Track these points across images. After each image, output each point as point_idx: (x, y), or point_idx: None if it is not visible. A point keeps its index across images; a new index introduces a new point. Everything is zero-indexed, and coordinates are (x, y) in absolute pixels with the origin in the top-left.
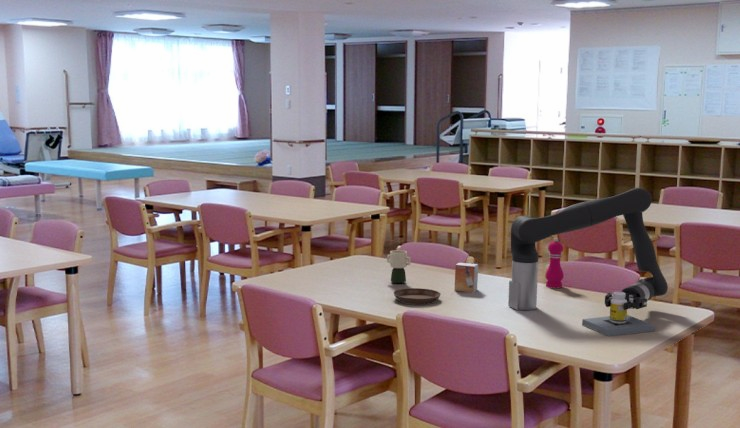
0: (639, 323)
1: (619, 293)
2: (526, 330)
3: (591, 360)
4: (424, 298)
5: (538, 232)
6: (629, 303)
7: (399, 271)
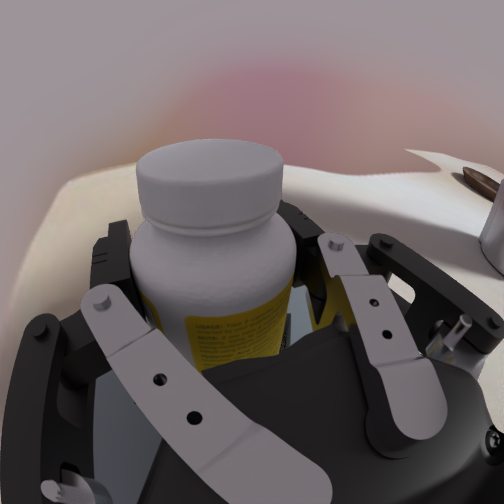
0: (113, 438)
1: (191, 150)
2: (316, 179)
3: (107, 171)
4: (466, 172)
5: None
6: (105, 273)
7: None
